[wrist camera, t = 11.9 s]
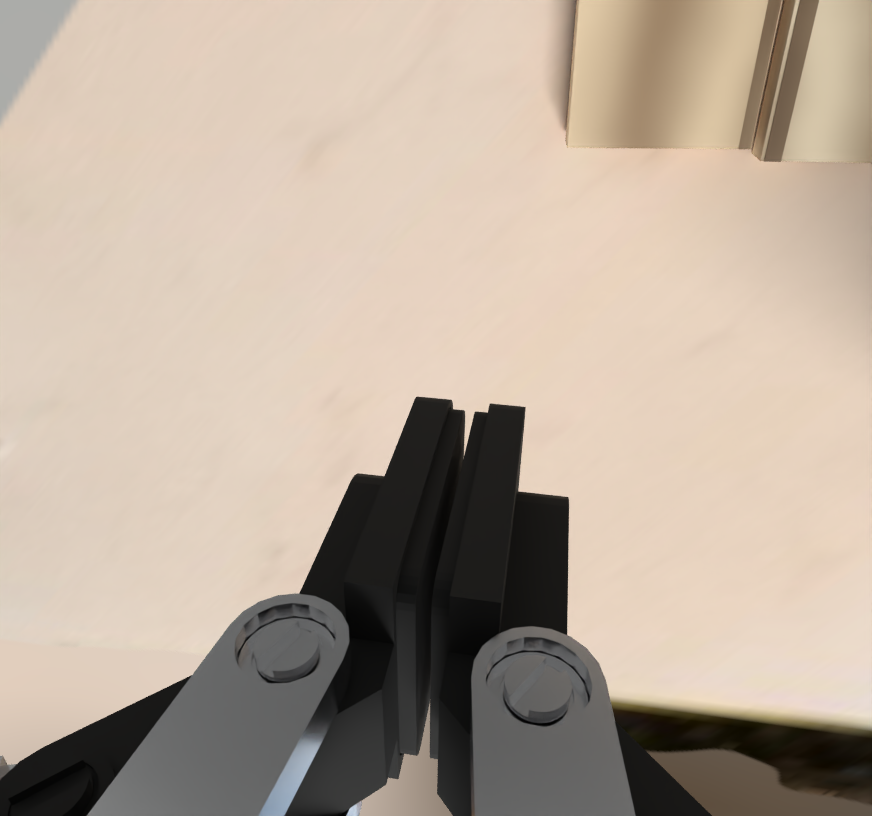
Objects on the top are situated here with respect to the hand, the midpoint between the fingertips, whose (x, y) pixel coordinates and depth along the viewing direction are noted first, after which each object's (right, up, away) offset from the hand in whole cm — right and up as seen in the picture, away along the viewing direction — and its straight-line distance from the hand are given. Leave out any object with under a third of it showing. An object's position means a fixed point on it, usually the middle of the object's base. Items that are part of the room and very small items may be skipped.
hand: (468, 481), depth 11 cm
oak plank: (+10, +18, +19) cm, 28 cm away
